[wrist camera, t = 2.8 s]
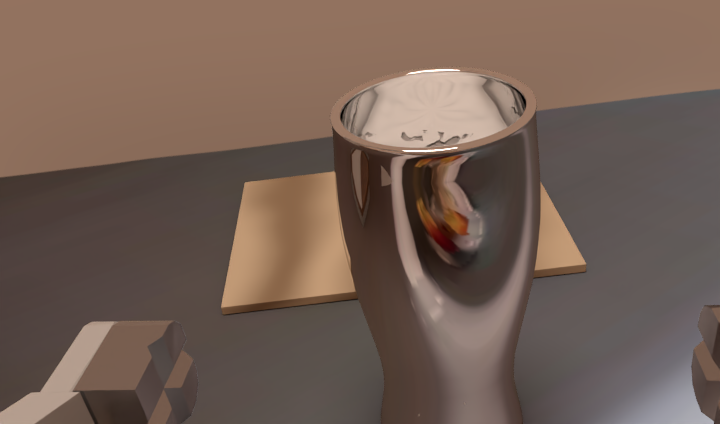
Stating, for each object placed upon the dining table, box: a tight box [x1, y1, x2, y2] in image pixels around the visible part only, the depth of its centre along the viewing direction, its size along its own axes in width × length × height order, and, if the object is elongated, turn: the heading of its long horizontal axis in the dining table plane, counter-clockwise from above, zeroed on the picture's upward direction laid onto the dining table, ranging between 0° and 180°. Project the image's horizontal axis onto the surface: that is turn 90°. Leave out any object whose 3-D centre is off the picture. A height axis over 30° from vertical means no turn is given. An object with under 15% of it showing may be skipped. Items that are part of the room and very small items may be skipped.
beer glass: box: [330, 67, 541, 424], centre depth 26 cm, size 7×7×15 cm
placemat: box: [221, 172, 586, 315], centre depth 44 cm, size 20×14×1 cm
